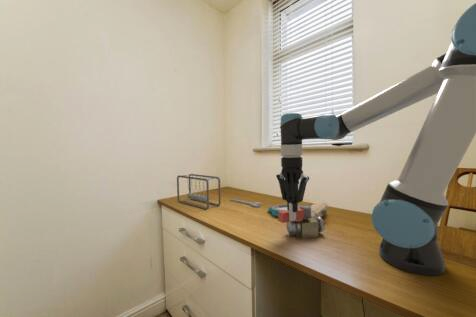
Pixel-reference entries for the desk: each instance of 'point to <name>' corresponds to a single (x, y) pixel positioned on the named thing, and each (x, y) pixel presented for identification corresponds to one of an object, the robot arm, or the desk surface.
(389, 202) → the robot arm
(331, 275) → the desk surface
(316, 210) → the butterfly valve
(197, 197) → the newton's cradle
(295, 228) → the valve body
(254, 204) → the adjustable wrench
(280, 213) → the lever
